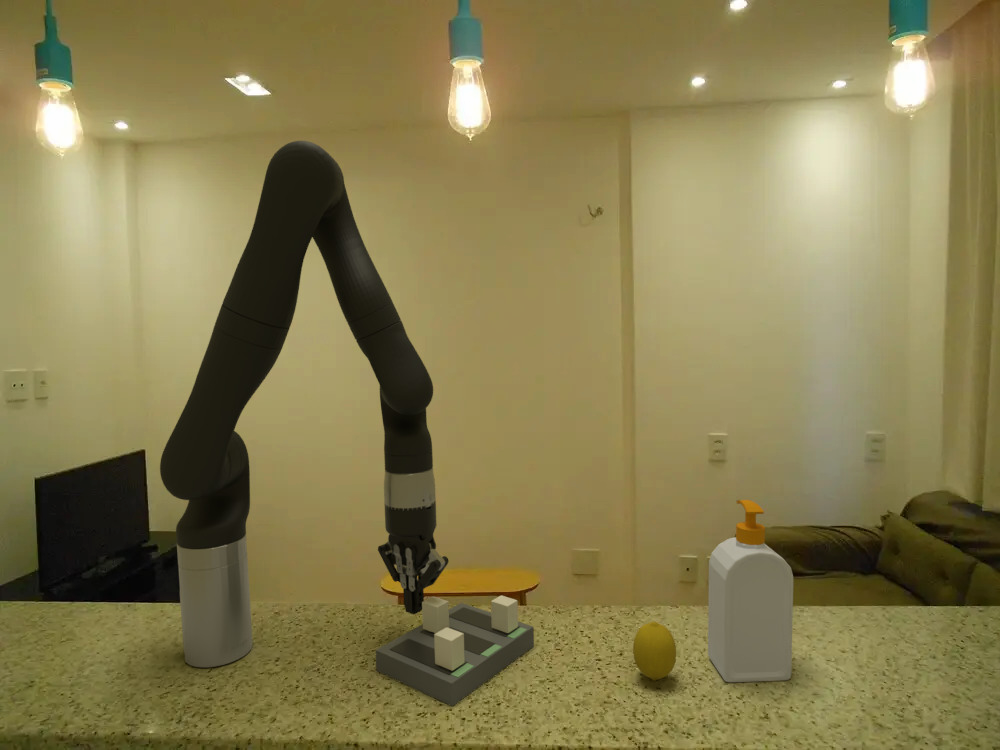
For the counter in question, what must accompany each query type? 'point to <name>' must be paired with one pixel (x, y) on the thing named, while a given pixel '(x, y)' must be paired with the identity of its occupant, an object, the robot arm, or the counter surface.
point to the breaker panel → (482, 655)
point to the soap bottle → (750, 606)
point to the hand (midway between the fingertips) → (414, 611)
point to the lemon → (654, 650)
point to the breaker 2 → (504, 614)
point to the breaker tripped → (435, 614)
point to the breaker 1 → (449, 648)
